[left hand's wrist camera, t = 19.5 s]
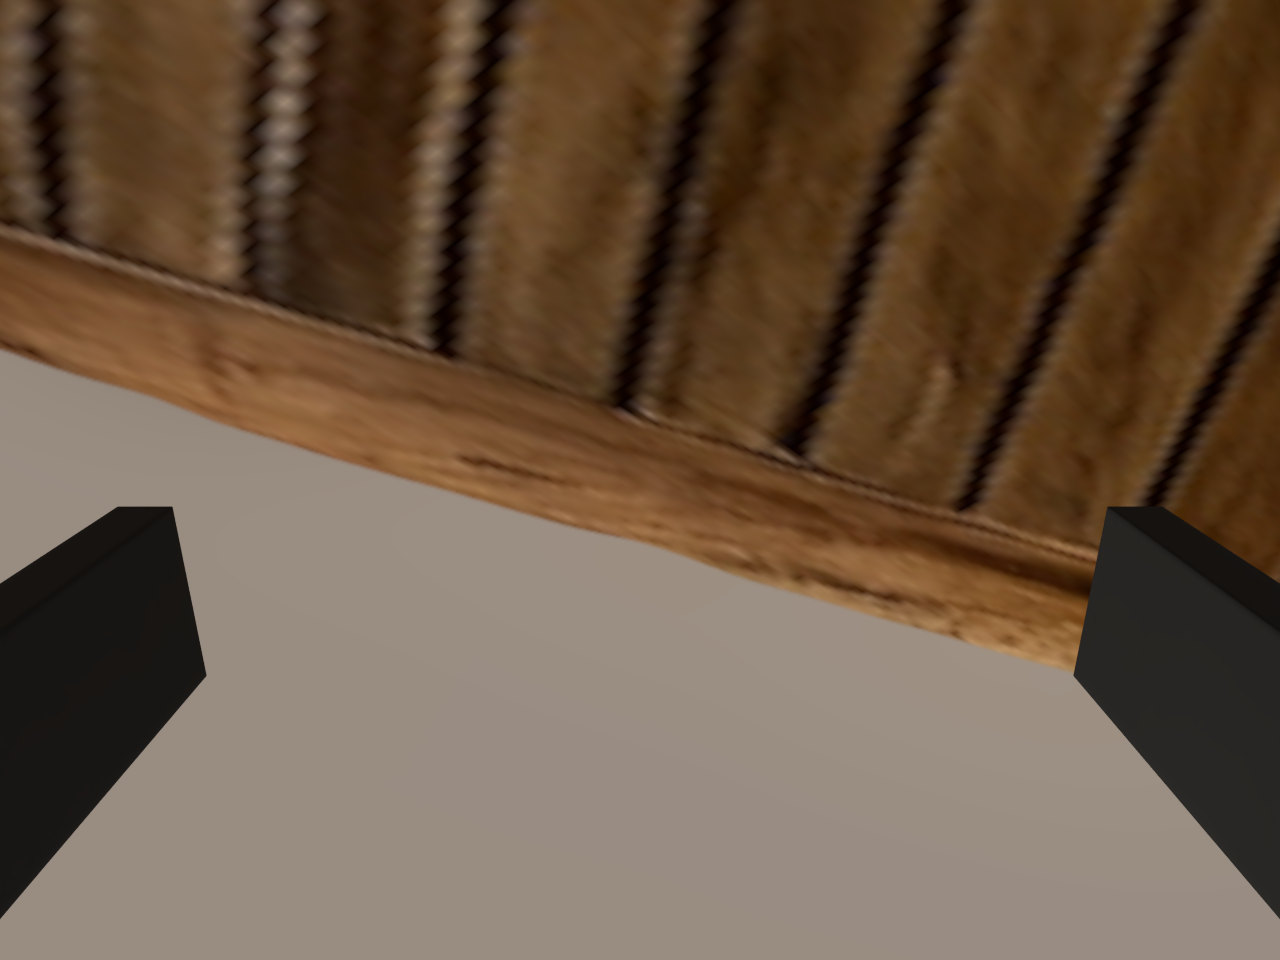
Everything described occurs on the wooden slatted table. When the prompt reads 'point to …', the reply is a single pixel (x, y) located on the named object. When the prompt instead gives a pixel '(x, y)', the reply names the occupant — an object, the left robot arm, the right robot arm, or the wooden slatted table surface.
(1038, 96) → the wooden slatted table surface
